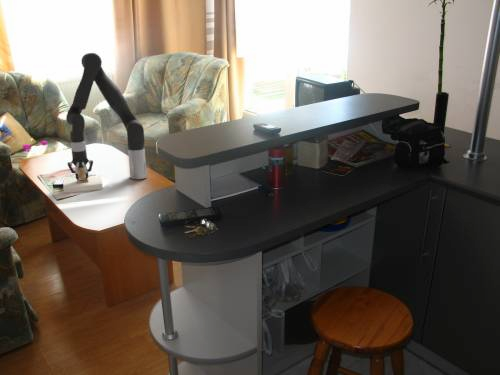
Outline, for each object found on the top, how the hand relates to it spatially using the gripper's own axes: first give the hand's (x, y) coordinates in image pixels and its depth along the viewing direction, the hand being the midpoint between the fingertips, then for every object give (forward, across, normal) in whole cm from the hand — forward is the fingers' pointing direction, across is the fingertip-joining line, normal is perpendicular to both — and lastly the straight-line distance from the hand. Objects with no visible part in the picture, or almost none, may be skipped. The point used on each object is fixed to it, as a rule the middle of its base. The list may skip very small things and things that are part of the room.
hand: (82, 179), depth 274 cm
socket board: (+4, 0, 0) cm, 4 cm away
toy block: (+5, +28, -80) cm, 85 cm away
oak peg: (+3, 0, 0) cm, 3 cm away
